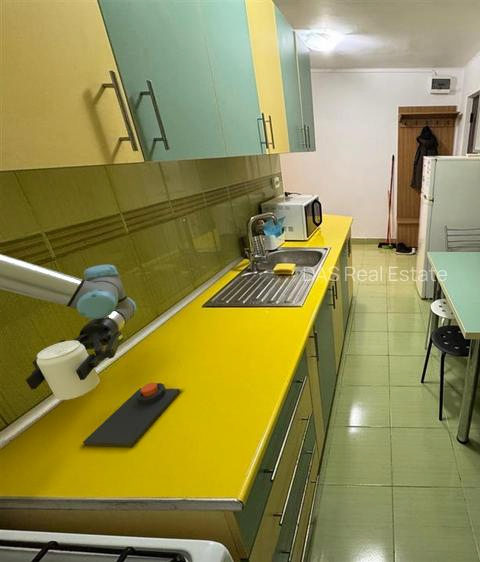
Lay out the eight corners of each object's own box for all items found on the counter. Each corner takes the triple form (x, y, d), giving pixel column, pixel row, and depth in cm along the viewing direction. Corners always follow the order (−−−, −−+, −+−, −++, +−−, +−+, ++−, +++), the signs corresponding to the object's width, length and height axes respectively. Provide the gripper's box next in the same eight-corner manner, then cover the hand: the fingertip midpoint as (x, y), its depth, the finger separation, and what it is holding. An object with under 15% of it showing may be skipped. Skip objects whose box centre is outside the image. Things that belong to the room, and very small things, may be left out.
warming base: (132, 446, 72) (128, 437, 71) (84, 445, 73) (79, 436, 71) (181, 391, 89) (178, 383, 88) (141, 390, 89) (138, 382, 88)
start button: (152, 396, 83) (150, 391, 83) (139, 396, 83) (137, 391, 83) (161, 387, 87) (159, 382, 86) (149, 387, 87) (147, 382, 86)
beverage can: (93, 374, 80) (74, 335, 75) (106, 385, 76) (88, 345, 71) (51, 394, 73) (28, 353, 69) (63, 407, 69) (40, 364, 65)
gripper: (149, 333, 92) (117, 382, 72) (63, 346, 86) (3, 404, 66) (141, 311, 89) (106, 356, 69) (51, 324, 83) (-15, 377, 63)
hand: (56, 379), depth 68 cm, fingers closed on beverage can, 8 cm apart
